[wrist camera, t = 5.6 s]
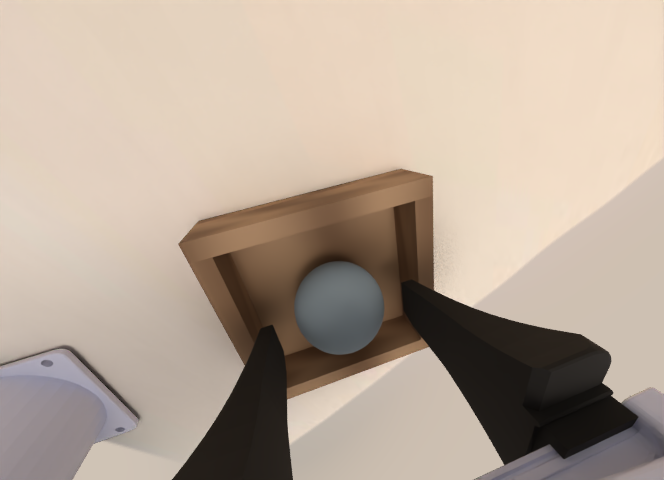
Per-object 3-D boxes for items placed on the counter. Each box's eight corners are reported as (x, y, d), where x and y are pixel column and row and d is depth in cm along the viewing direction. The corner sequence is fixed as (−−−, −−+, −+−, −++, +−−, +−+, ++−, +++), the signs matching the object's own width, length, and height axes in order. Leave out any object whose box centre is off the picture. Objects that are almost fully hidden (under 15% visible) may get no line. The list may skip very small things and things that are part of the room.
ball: (302, 321, 16) (314, 390, 12) (280, 260, 14) (285, 317, 10) (369, 298, 17) (405, 356, 12) (358, 237, 15) (396, 279, 10)
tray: (267, 365, 18) (267, 406, 15) (198, 221, 13) (178, 244, 10) (411, 315, 19) (434, 344, 17) (401, 169, 14) (432, 176, 11)
